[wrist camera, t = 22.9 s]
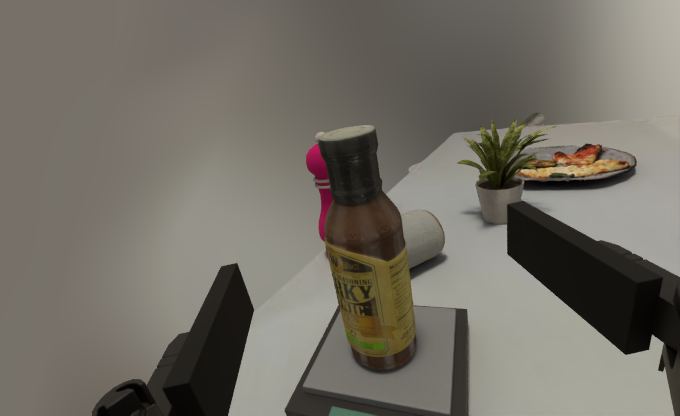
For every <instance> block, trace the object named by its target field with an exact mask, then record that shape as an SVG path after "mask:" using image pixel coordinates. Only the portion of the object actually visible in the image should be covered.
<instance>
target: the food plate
mask: <svg viewBox="0 0 680 416" xmlns="http://www.w3.org/2000/svg"><path fill="white" fill-rule="evenodd" d="M519 151H520V150H518V151H516V152H515V153H514V154H513V156H512V157H511V158H510V160H509V161H508V163H509V162H510V161H511V160H512V158H514V157H515V156H516V155H517V154H518V152H519ZM540 151H545V152H541V153H538V154H536V155H534V156H535V157H536V158H537V159H540V160H534V161H531V162H528V163H526V164H531V165H534V166H535V167H536V168H537V170H538V172H539V173H538V172H537V171H536V170H534V169H531V168H528V167H524V168H523V169H522V170H521V171H520V172H518V173H517V174H516V175H515V176H516V177H519V178H521V179H523V180H539V181H544V182H546V181H552V180H553V181H562V180H565V181H566V182H569V180H582V179H583V180H586V179H587V180H589V179H590V180H591V179H604V178H605V179H606V178H610V177H614V176H616V175H620V174H623V173H625V172H628V171H630V170H631V169H632V168H634V167H635V166H636V163H637V161H636V158H635V156H633V155H631V154H629V153H627V152H622V151H619V150H615V149H611V148H604V147H603V148H602V145H601V146H600V145H599V144H598V145H592V144H585V146H584V145H583V147H582V146H557V147H556V146H555V147H545V148H544V147H541V148H540V147H539V148H529V149H524V150H522V151H521V153H520V154H529V155H527V156H523V157H521V158H519V159H517V160H516V161H515V162H514V163H513V165H512V166H511V168H512V167H513V166H514V165H515V164H517V163H518V162H519V161H521V160H523V159H525V158H527V157H528V156H530V155H531V154H534V153H536V152H540ZM534 156H533V157H532V158H535V157H534ZM541 160H542V161H541ZM508 163H507V164H508ZM511 168H510V169H509V171H510V170H511ZM521 168H522V166H521V167H520V168H519V169H521ZM519 169H518V170H519ZM518 170H517V171H518ZM509 171H508V173H509ZM517 171H516V172H517ZM516 172H515V173H516ZM508 173H507V174H508Z"/></svg>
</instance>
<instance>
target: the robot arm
mask: <svg viewBox="0 0 680 416" xmlns="http://www.w3.org/2000/svg"><path fill="white" fill-rule="evenodd" d="M507 254H508V255H509V256H510V257H512V258H513V259H514V260H515V261H516V262H517V263H519V264H520V265H521V266H522V267H523V268H524V269H526V270H527V271H528V272H529V273H530V274H531V275H533V276H534V277H535V278H536V279H537V280H539V281H540V282H541V283H542V284H543V285H544V286H546V287H547V288H548V289H549V290H550V291H551V292H553V293H554V294H555V295H556V296H557V297H558V298H560V299H561V300H562V301H563V302H564V303H565V304H567V305H568V306H569V307H570V308H571V309H573V310H574V311H575V312H576V313H577V314H578V315H580V316H581V317H582V318H583V319H584V320H585V321H587V322H588V323H589V324H590V325H591V326H592V327H594V328H595V329H596V330H597V331H598V332H599V333H601V334H602V335H603V336H604V337H605V338H606V339H608V340H609V341H610V342H611V343H612V344H614V345H615V346H616V347H617V348H618V349H619V350H621V351H622V352H623V353H624V354H625V355H627V354H632V353H636V352H641V351H645V350H649V347H650V342H651V337H652V334H653V335H654V336H655V337H657V338H658V339H659V340H661V341H662V342H664V345H663V350H662V355H661V359H660V364H659V369H658V370H659V371H662V372H663V370H664V367H665V369H666V374H667V379H668V384H669V389H670V394H671V399H672V404H673V409H674V414H675V416H680V277H678V276H676V275H674V274H673V273H671V272H669V271H667V270H665V269H663V268H661V267H659V266H657V265H655V264H653V263H651V262H649V261H648V260H646V259H645V260H643V258H642V257H640V256H638V255H636V254H632V252H630V251H628V250H626V249H624V248H622V247H621V246H619V245H616V244H612V243H609V242H605V241H602V240H601V241H596V240H594V239H592V238H590V237H588V236H586V235H585V234H583V233H581V232H579V231H577V230H575V229H574V228H572V227H570V226H568V225H566V224H564V223H562V222H561V221H559V220H557V219H555V218H553V217H551V216H550V215H548V214H546V213H544V212H542V211H540V210H539V209H537V208H535V207H533V206H531V205H529V204H527V203H526V202H524V201H520V202H515V203H510V204H507ZM253 312H254V308H253V305H252V303H251V300H250V297H249V294H248V292H247V289H246V286H245V283H244V281H243V278H242V275H241V272H240V270H239V267H238V264H237V263H236V264H231V265H226V266H222V267H221V268H220V270H219V272H218V274H217V276H216V278H215V281H214V283H213V285H212V287H211V289H210V291H209V293H208V295H207V297H206V299H205V301H204V303H203V305H202V307H201V309H200V311H199V313H198V316H197V318H196V319H195V322H194V324H193V326H192V328H191V330H190V332H187V333H182V334H179V335H178V336H177V337H176V338H175V339H174V340H173V341H172V342H171V343H170V344H169V345H168V347H167V349H166V351H165V353H164V354H163V356H162V359H161V360H160V362H159V364H158V366H157V369H155V371H154V373H153V375H152V377H151V378H150V381H149V382H148V384H147V386H146V384H145V383H144V382H143V381H142V380H140V379H133V380H129V381H126V382H124V383H122V384H120V385H118V386H116V387H114V388H113V389H112V390H110V391H109V392H108V393H107V394H105V395H104V396H103V397H102V398H101V399H100V401H99V402H98V403H97V404H96V406H95V408H94V410H93V411H92V416H228V413H229V409H230V405H231V401H232V397H233V393H234V389H235V385H236V381H237V377H238V373H239V368H240V364H241V360H242V356H243V352H244V348H245V344H246V340H247V336H248V332H249V328H250V324H251V320H252V316H253Z"/></svg>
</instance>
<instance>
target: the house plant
mask: <svg viewBox="0 0 680 416" xmlns="http://www.w3.org/2000/svg"><path fill="white" fill-rule="evenodd" d="M516 123H517V119H515V121H514V122H513V124H512V125H511V127H510V129H509V130H508V132H507V134H506V135H505V137H504V139H503V142H502V144H501V147H500V143H499V136H498V133H497V131H496V129H495V125H494V123H493V121H492V120H491V127H492V136H493V141H492V137H491V136H490V135H489V133H488V132H487V131H486V130H485V129H484V128H483V127H481V129H480V131H481V134H479V135H481V136H482V141H483V143H476V141H474V140H472V141H473V142H474V143H473V142H472V141H470V140H469V139H466V138H464V137H463V138H464V140H466V141H467V142H468V143H469V144H470V145H471V147H470V146H469V147H470V148H471V149H472V150H473V151H474V152H476V154H477V155H478V156H479V157H480V158H481V162H482V164H483V165H484V166H485V168H486V169H487V171H485V170H484V169H483V168H482V167H481V166H480V165H478V164H477V163H475V162H472V161H469V160H462V161H460V162H458V163H459V164H466V165H470V166H473V167H476V168H478V169H479V170H480V171H479V172H480V174H481V175H479V179H480V180H478V181H477V182H476V184H475V185H476V189H477V193H478V197H479V201H480V205H481V209H482V213H483V217H484V220H485V221H487V222H489V223H493V224H507V204H510V203H515V202H520V201H521V196H522V191H523V186H524V180H523V179H521V178H519V177H516V176H515V175H516V174H517V173H518V172H520V171H521V170H522V169H523V168H524V167H528V168H531V169H534V170H536V171H537V172H538V170H537V168H536V167H535V166H534V165H531V164H526V163H528V162H531V161H534V160H540V159H537V158H536V157H535V156H534V155H536V154H538V153H541V152H545V151H540V152H536V153H534V154H531V155H530V156H528V157H527V158H525V159H523V160H521V161H519V162H518V163H517V164H515V165H514V166H513V167H512V168H511V166H512V165H513V163H514V162H515V161H516V160H517V159H519V158H521V157H523V156H527V155H529V154H520V153H521V151H522V150H523V149H524V148H525V147H526V146H528V145H531V144H533V143H536V142H540V141H544V140H547V139H543V140H537V141H532V140H534V139H535V138H537V137H539V136H543V135H547V134H543V135H537V134H538V133H540V132H542V131H544V130H547V129H550V128H553V127H550V128H546V129H543V130H540V131H538V132H536V133H534V134H532V135H528V136H529V137H528V136H526V137H528V138H526V139H525V140H524V141H523V142H521V143H520V144H519V142H520V141H521V140H522V139H523V138H522V139H520V140H519V141H518V139H519V137H520V135H521V130H522V129H523V127H524V126H525V125H526V123H524V124H523V125H521V126H519V127H518V128H517V129H516V130H515V131H514V129H515V126H516ZM555 127H556V126H555ZM533 136H535V137H533ZM532 137H533V138H532ZM524 138H525V137H524ZM529 139H530V140H529ZM549 139H550V138H549ZM517 141H518V142H517ZM526 141H527V142H526ZM531 141H532V142H531ZM516 142H517V143H516ZM525 142H526V143H525ZM524 143H525V144H524ZM478 144H479V145H480V146H481V147H482V148H483V150H484V152H483V150H482V149H481V148H480V147H479V145H478ZM518 144H519V145H518ZM466 145H467V144H466ZM474 149H475V150H474ZM519 149H520V151H519V152H518V154H517V155H516V156H515V157H514V158H512V160H511V161H510V162H509V163H508V161H509V160H510V158H511V157H512V156H513V154H514V153H515V152H516V151H518V150H519ZM484 153H485V154H484ZM533 156H534V157H535V158H532V157H533ZM541 161H542V160H541ZM507 163H508V164H507ZM521 166H522V168H521V169H519V168H520V167H521ZM510 168H511V170H510V171H509V169H510ZM518 169H519V170H518ZM517 170H518V171H517ZM508 171H509V173H508ZM516 171H517V172H516ZM515 172H516V173H515ZM507 173H508V174H507ZM538 173H539V172H538Z"/></svg>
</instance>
